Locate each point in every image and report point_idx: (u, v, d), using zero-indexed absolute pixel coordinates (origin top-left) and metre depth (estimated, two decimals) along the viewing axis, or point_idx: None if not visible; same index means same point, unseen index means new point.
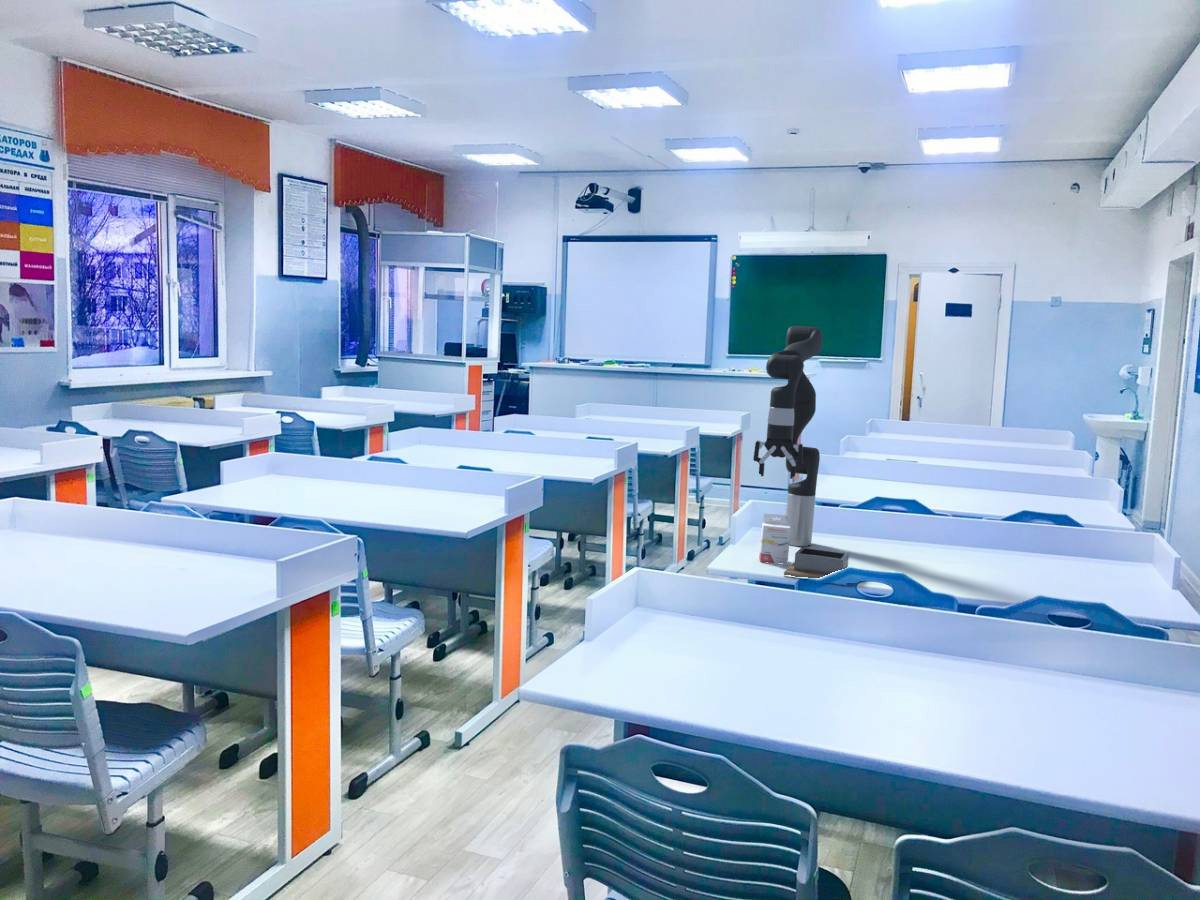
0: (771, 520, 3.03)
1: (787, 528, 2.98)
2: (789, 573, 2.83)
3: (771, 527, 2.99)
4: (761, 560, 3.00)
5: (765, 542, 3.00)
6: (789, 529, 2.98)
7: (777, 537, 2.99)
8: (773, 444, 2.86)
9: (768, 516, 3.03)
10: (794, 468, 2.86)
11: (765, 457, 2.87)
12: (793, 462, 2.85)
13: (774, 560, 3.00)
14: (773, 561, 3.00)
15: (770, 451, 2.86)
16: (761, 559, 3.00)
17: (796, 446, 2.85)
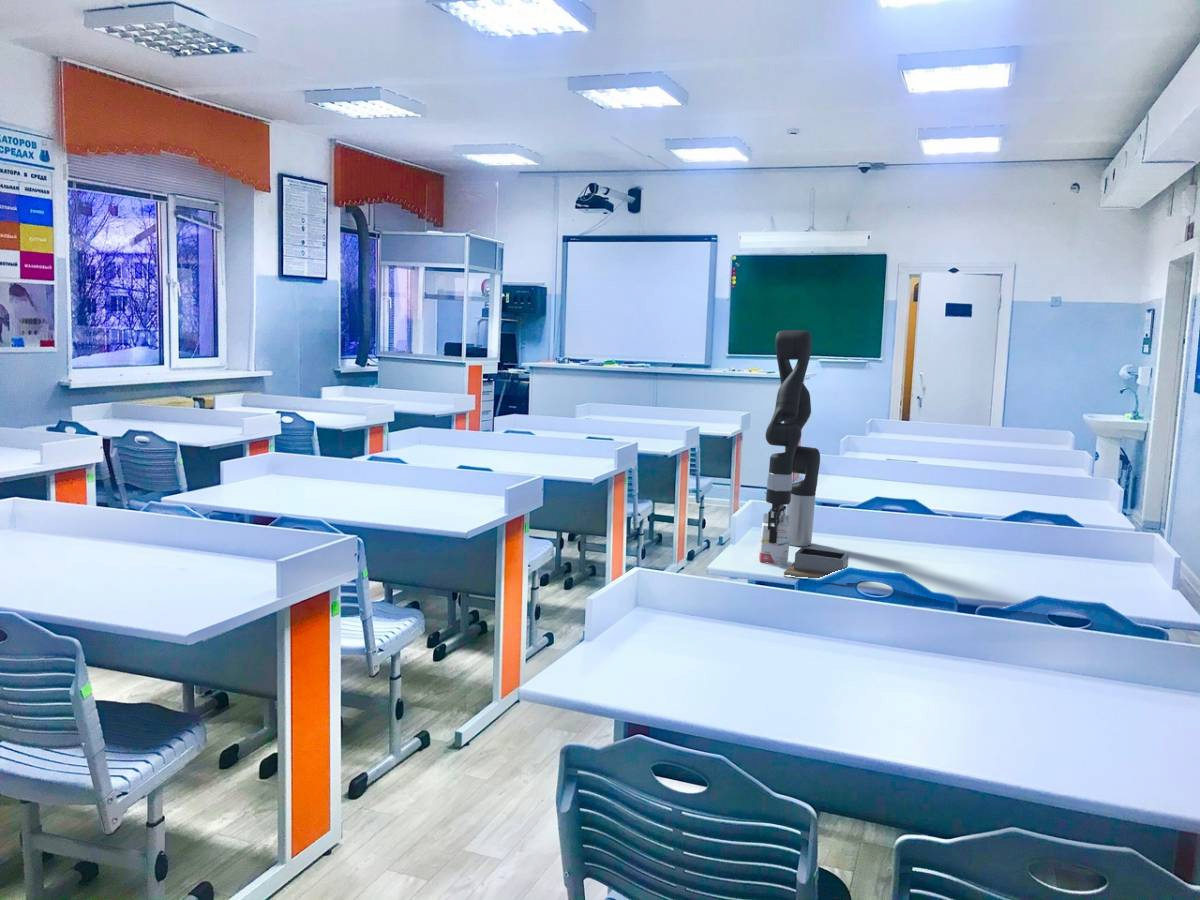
0: None
1: (787, 528, 2.98)
2: (789, 573, 2.83)
3: None
4: (761, 560, 3.00)
5: (764, 542, 3.00)
6: (789, 529, 2.98)
7: (777, 537, 2.99)
8: (780, 509, 2.98)
9: None
10: None
11: (778, 524, 2.98)
12: None
13: (774, 560, 3.00)
14: (773, 561, 3.00)
15: None
16: (761, 559, 3.00)
17: None
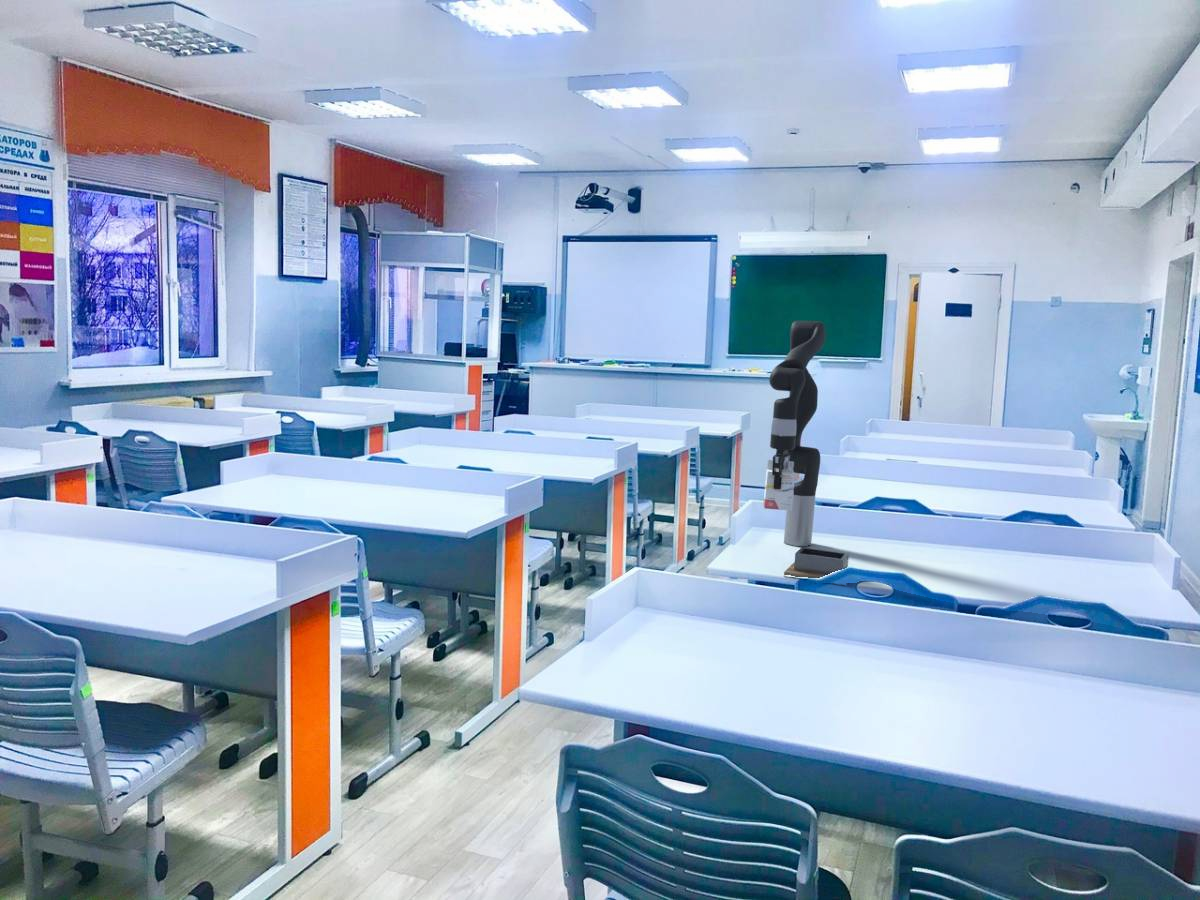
0: None
1: (792, 473, 2.96)
2: (789, 573, 2.83)
3: None
4: (765, 506, 2.98)
5: (769, 488, 2.98)
6: (793, 475, 2.96)
7: (781, 482, 2.97)
8: (784, 454, 2.96)
9: (772, 463, 3.01)
10: None
11: (783, 469, 2.96)
12: None
13: (778, 506, 2.98)
14: (777, 507, 2.98)
15: (785, 462, 2.96)
16: (765, 505, 2.98)
17: None
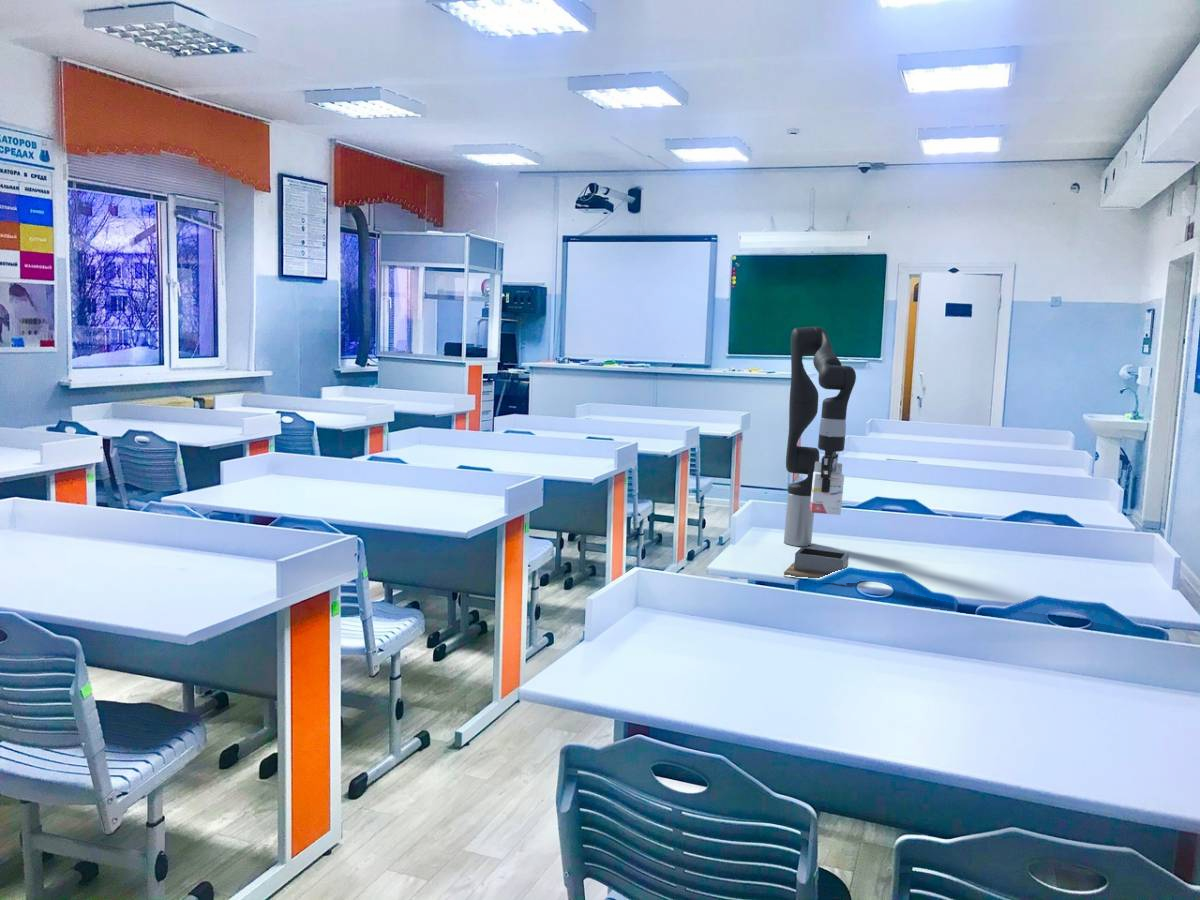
0: None
1: (841, 476, 2.83)
2: (789, 573, 2.83)
3: None
4: (813, 510, 2.85)
5: (816, 491, 2.84)
6: (842, 477, 2.83)
7: None
8: (833, 456, 2.83)
9: (819, 465, 2.87)
10: None
11: (832, 472, 2.82)
12: None
13: (826, 510, 2.84)
14: (825, 512, 2.84)
15: (834, 464, 2.82)
16: (813, 509, 2.85)
17: None
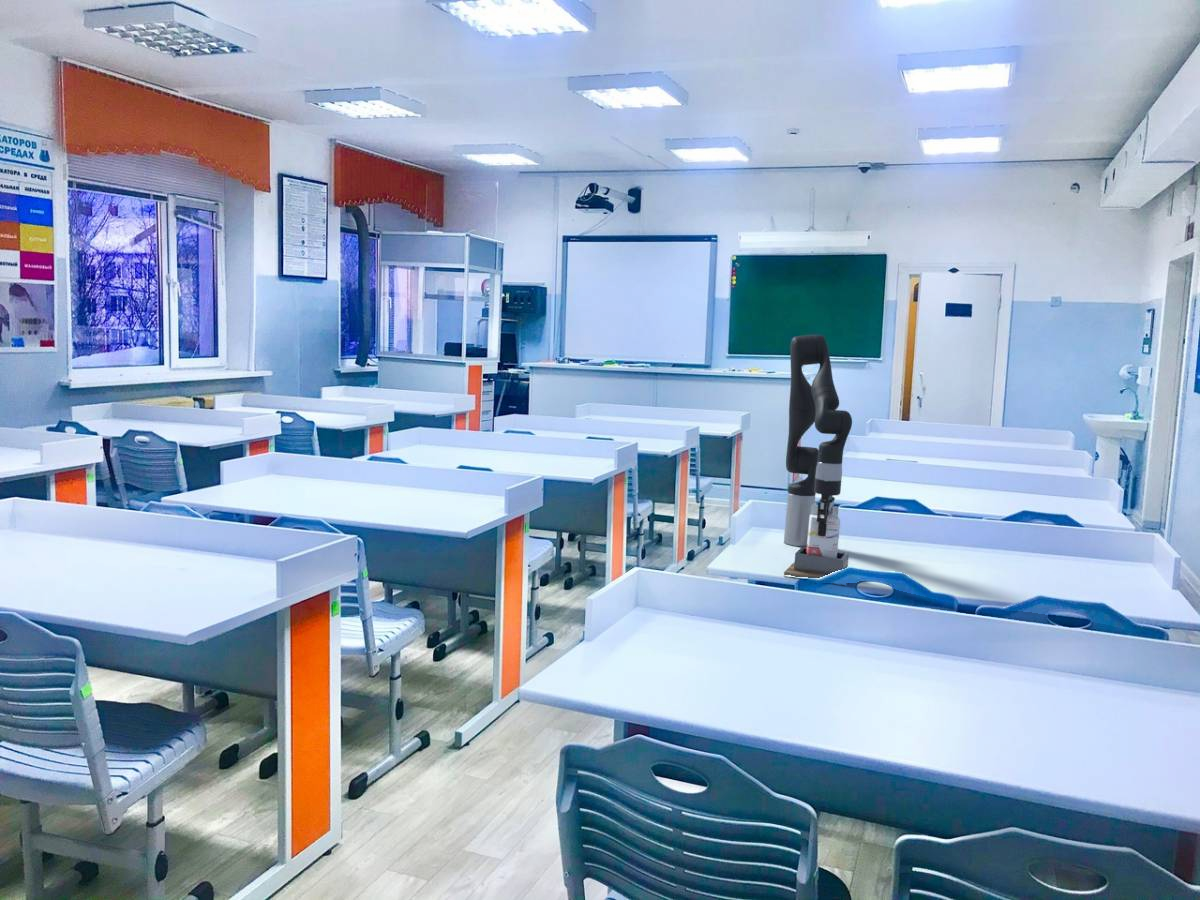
0: None
1: (837, 519, 2.84)
2: (789, 573, 2.83)
3: None
4: (809, 553, 2.86)
5: (813, 535, 2.86)
6: (839, 521, 2.84)
7: (826, 529, 2.85)
8: (829, 500, 2.84)
9: (816, 508, 2.89)
10: None
11: (828, 516, 2.84)
12: None
13: (823, 553, 2.86)
14: (821, 555, 2.86)
15: (830, 508, 2.84)
16: (809, 552, 2.86)
17: None
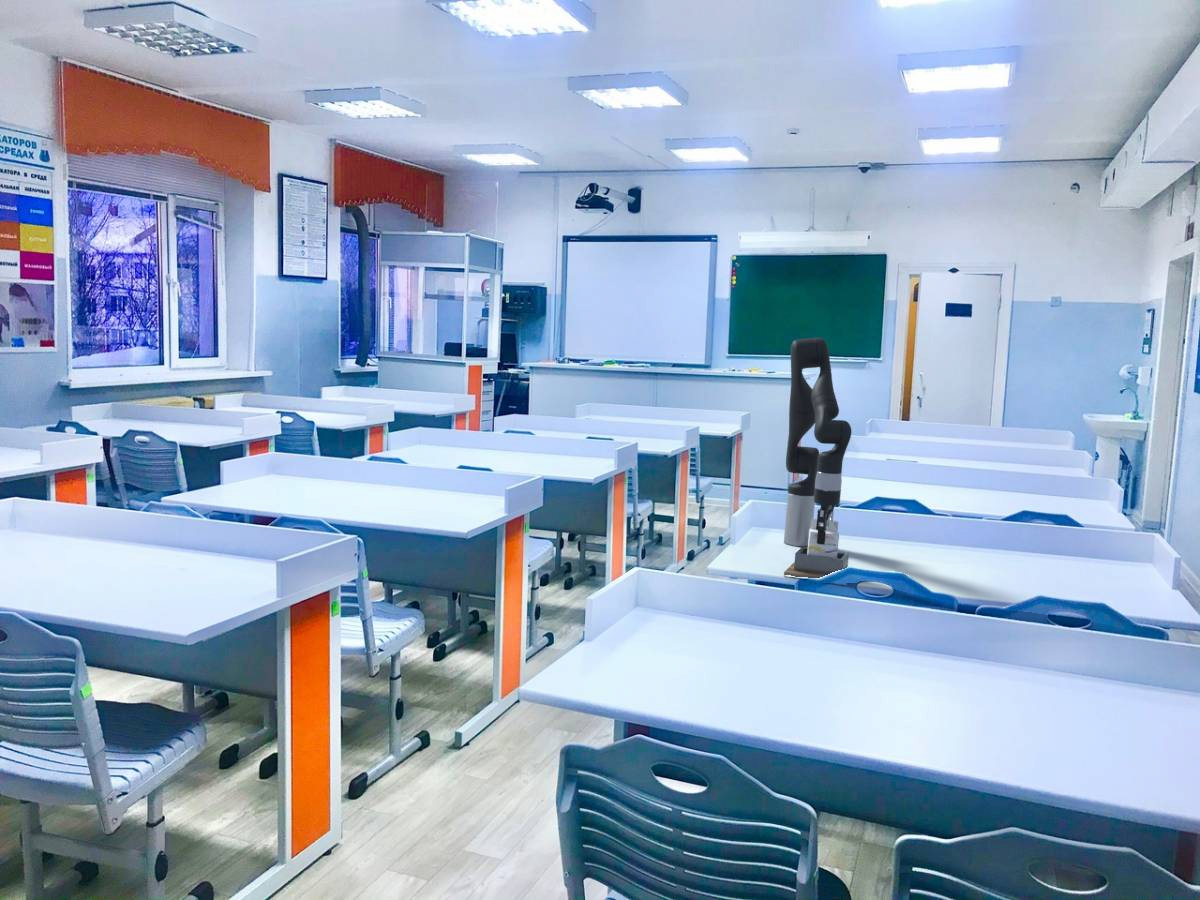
0: None
1: (836, 534, 2.84)
2: (789, 573, 2.83)
3: None
4: None
5: (811, 549, 2.86)
6: (837, 536, 2.84)
7: (824, 544, 2.85)
8: (829, 510, 2.85)
9: (815, 522, 2.89)
10: None
11: (827, 524, 2.83)
12: None
13: None
14: None
15: (830, 517, 2.84)
16: None
17: None
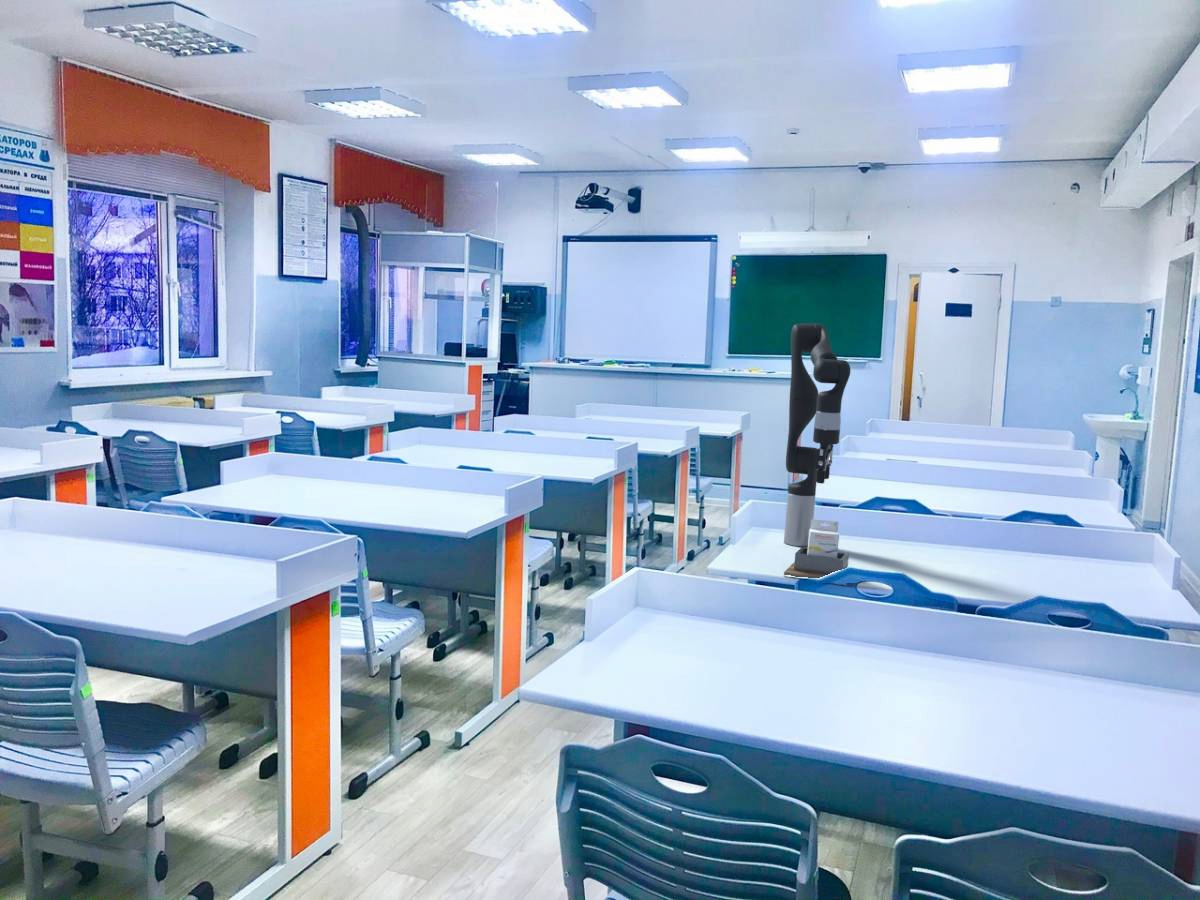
0: (818, 526, 2.90)
1: (836, 534, 2.84)
2: (789, 573, 2.83)
3: (818, 533, 2.85)
4: None
5: (811, 549, 2.86)
6: (837, 536, 2.84)
7: (824, 544, 2.85)
8: (828, 449, 2.87)
9: (815, 522, 2.89)
10: None
11: (827, 463, 2.85)
12: (830, 462, 2.93)
13: None
14: None
15: (829, 456, 2.86)
16: None
17: None
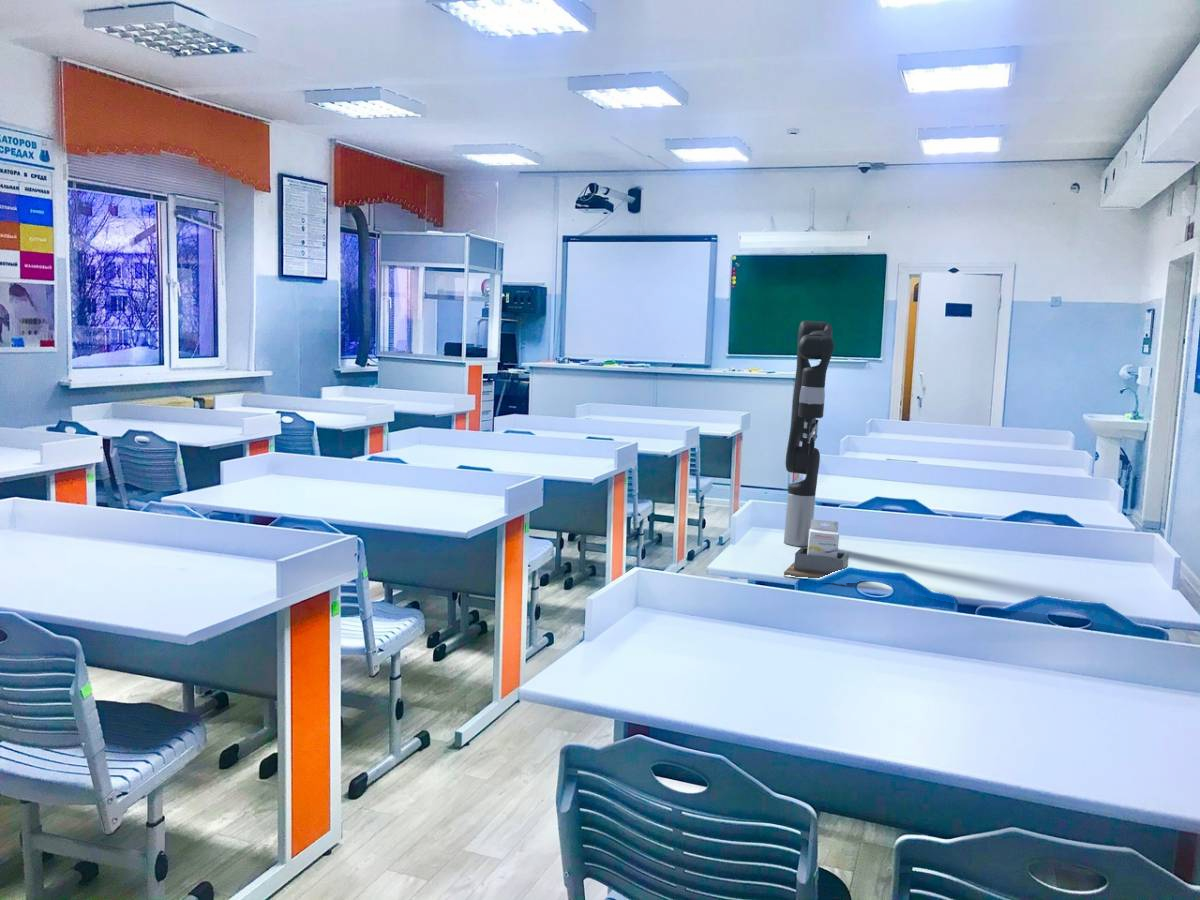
0: (818, 526, 2.90)
1: (836, 534, 2.84)
2: (789, 573, 2.83)
3: (818, 533, 2.85)
4: None
5: (811, 549, 2.86)
6: (837, 536, 2.84)
7: (824, 544, 2.85)
8: (812, 423, 2.96)
9: (815, 522, 2.89)
10: None
11: (811, 436, 2.95)
12: (815, 437, 3.02)
13: None
14: None
15: (813, 430, 2.96)
16: None
17: None
